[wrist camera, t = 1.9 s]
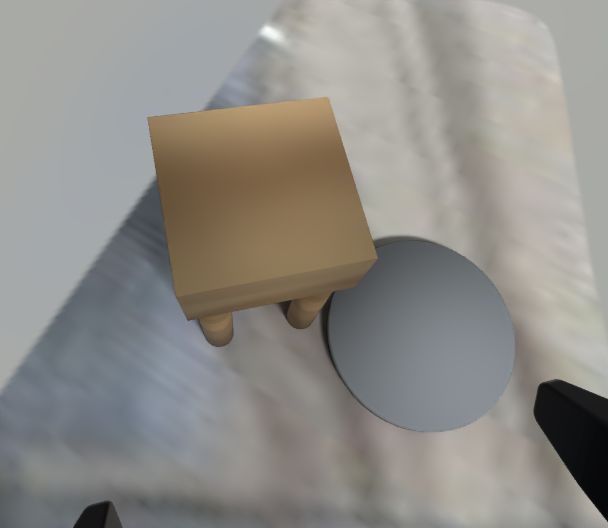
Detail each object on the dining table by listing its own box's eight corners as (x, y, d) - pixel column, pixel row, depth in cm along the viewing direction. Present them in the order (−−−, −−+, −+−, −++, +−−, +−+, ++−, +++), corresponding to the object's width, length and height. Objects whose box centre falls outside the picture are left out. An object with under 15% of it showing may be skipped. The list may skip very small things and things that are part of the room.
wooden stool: (320, 328, 24) (378, 258, 14) (204, 354, 22) (175, 296, 13) (294, 224, 25) (328, 96, 16) (185, 243, 24) (147, 117, 14)
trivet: (544, 376, 24) (551, 374, 24) (386, 470, 22) (391, 471, 21) (445, 219, 27) (450, 215, 26) (294, 287, 24) (295, 283, 24)
